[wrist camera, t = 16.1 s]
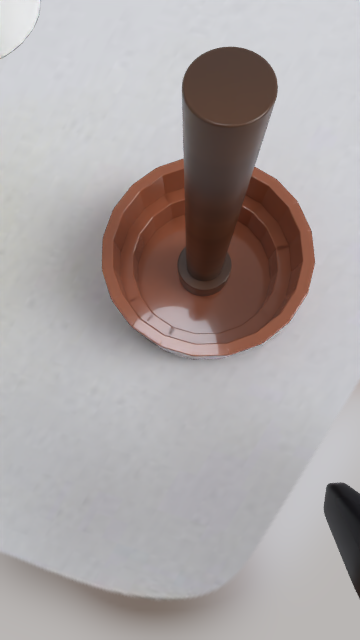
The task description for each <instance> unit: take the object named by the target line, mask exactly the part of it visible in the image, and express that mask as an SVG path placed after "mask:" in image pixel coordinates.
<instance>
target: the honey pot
mask: <svg viewBox="0 0 360 640" xmlns="http://www.w3.org/2000/svg"><path fill="white" fill-rule="evenodd" d="M40 2H41V0H0V58H1V57H3V56H6V55H8V54H9V53H10V52H11V51H13V50H14V49H15V48H16V47H18V46H19V45H20V44H21V43H22V42H23V41H24V40H25V39H26V37H27V36H28V35H29V34H30V32H31V31H32V30H33V28H34V26H35V23H36V21H37V19H38V16H39V11H40Z"/></svg>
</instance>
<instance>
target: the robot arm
mask: <svg viewBox="0 0 360 640" xmlns="http://www.w3.org/2000/svg"><path fill="white" fill-rule="evenodd" d="M324 513H325V517H326V519H327V522H328V525H329V527H330V530H331V532H332V534H333V537H334V539H335V542H336V544H337V547H338V549H339V552H340V554H341V556H342V559H343V561H344V564H345V566H346V569H347V571H348V574H349V576H350V578H351V581H352V583H353V585H354V588H355V590H356V592H357V594H358V596H359V598H360V494H359V493H358V492H356V491H355V490H354V489H352V488H351V487H350V486H348V485H347V484H345V483H330V484H328V485H327V487H326V494H325V502H324Z"/></svg>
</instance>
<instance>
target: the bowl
mask: <svg viewBox="0 0 360 640" xmlns="http://www.w3.org/2000/svg"><path fill="white" fill-rule="evenodd" d="M297 202H298V201H297V200H296V199H295V198H294V197H293V196H292V195H291V194H290V193H289V192H288V191H287V190H286V188H285V187H284V186H283V185H282V184H281V183H280V182H279V181H278V180H277V179H275V178H274V177H272V176H270V175H268V174H267V173H265V172H263V171H261V170H260V169H258V168H256V167H254V169H253V173H252V176H251V179H250V182H249V185H248V188H247V191H246V195H245V198H244V201H243V204H242V207H241V210H240V214H239V217H238V220H237V223H236V226H235V229H234V232H233V236H232V239H231V242H230V245H229V248H228V251H227V252H228V253H229V255H230V258H231V264H232V265H231V272H230V275H229V277H228V279H227V282H226V284H225V285H224V287H223V288H222V289H221V290H220V291H218V292H217V293H215V294H213V295H210V296H197V295H194V294H192V293H190V292H189V291H187V290H186V289H185V288H184V287H183V285H182V284H181V282H180V280H179V275H178V266H177V263H178V258H179V255H180V253H181V251H182V250H183V249H184V248H185V247H186V229H185V190H184V159H181V160H178V161H175V162H172V163H169V164H166V165H163V166H160V167H158V168H156V169H154V170H153V171H151V172H150V173H148V174H147V175H146V176H144V177H143V178H141V179H140V180H138V181H137V182H136V183H134V184H133V185H132V186H131V187H130V188H129V190H128V191H127V192H126V193H125V195H124V196H123V197H122V199H121V200H120V201H119V202H118V204H117V205H116V206H115V207H114V210H113V211H112V214H111V216H110V219H109V222H108V225H107V227H106V230H105V233H104V236H103V240H102V272H103V275H104V278H105V281H106V285H107V288H108V291H109V294H110V297H111V299H112V302H113V303H114V304H115V306H116V307H117V308H118V310H119V311H120V312H121V314H122V315H123V316H124V318H125V319H126V320H127V322H128V323H129V325H130V326H131V327H132V328H133V329H135V330H136V331H137V332H139V333H140V334H141V335H142V336H144V337H145V338H147V339H148V340H150V341H151V342H152V343H154V344H155V345H157V346H158V347H160V348H161V349H163V350H164V351H166V352H169V353H173V354H176V355H179V356H183V357H186V358H189V359H221V358H225V357H228V356H230V355H233V354H236V353H239V352H242V351H244V350H247V349H250V348H252V347H255V346H258V345H260V344H262V343H264V342H265V341H266V340H268V339H269V338H270V337H272V336H273V335H274V334H275V333H277V332H278V331H279V330H280V329H282V328H283V327H284V326H285V325H287V324H288V323H289V322H290V321H291V319H292V318H293V316H294V314H295V313H296V311H297V310H298V308H299V307H300V305H301V303H302V302H303V300H304V299H305V297H306V296H307V294H308V291H309V286H310V282H311V278H312V273H313V269H314V265H315V258H314V249H313V240H312V231H311V229H310V227H309V225H308V222H307V220H306V218H305V216H304V214H303V212H302V210H301V208H300V206H299V203H297Z"/></svg>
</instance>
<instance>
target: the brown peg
mask: <svg viewBox="0 0 360 640" xmlns="http://www.w3.org/2000/svg"><path fill="white" fill-rule="evenodd" d="M277 91H278V85H277V78H276V75H275V73H274V70H273V69H272V67H271V66H270V64H269V63H268V62H267V61H266V60H265V59H264V58H263V57H261V56H260V55H258V54H257V53H255V52H253V51H250V50H248V49H244V48H239V47H222V48H217V49H213V50H210V51H208V52H206V53H204V54H202V55H201V56H199V57H198V58H197V59H195V60H194V61H193V62H192V64H191V65H190V66H189V68H188V69H187V71H186V73H185V75H184V78H183V82H182V112H183V151H184V190H185V229H186V247H185V248H184V249H183V250H182V251H181V253H180V255H179V258H178V263H177V266H178V275H179V280H180V282H181V284H182V285H183V287H184V288H185V289H186V290H187V291H189V292H190V293H192V294H194V295H197V296H210V295H213V294H215V293H217V292H218V291H220V290H221V289H222V288H223V287H224V285H225V284H226V282H227V279H228V277H229V275H230V272H231V265H232V264H231V258H230V255H229V253H228V252H227V251H228V248H229V245H230V242H231V239H232V236H233V232H234V229H235V226H236V223H237V220H238V217H239V214H240V210H241V207H242V204H243V201H244V198H245V195H246V191H247V188H248V185H249V182H250V179H251V176H252V173H253V169H254V166H255V163H256V160H257V157H258V154H259V151H260V147H261V144H262V141H263V138H264V135H265V132H266V129H267V125H268V122H269V119H270V116H271V113H272V110H273V106H274V103H275V100H276V97H277Z"/></svg>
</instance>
